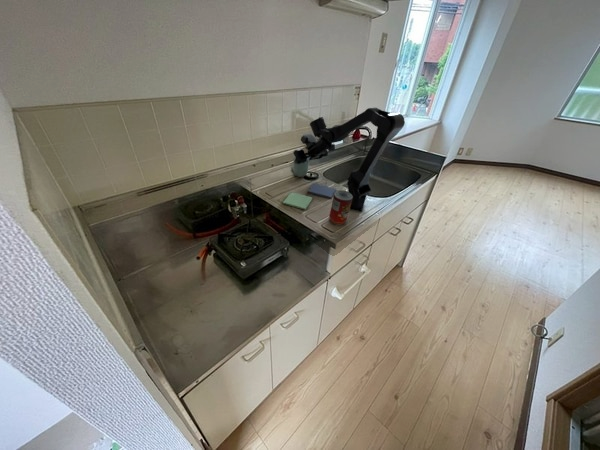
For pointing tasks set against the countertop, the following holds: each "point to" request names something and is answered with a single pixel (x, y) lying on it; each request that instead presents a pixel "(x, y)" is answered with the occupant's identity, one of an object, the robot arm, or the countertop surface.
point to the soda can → (340, 207)
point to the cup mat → (297, 200)
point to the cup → (301, 168)
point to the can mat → (322, 190)
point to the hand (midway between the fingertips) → (301, 161)
